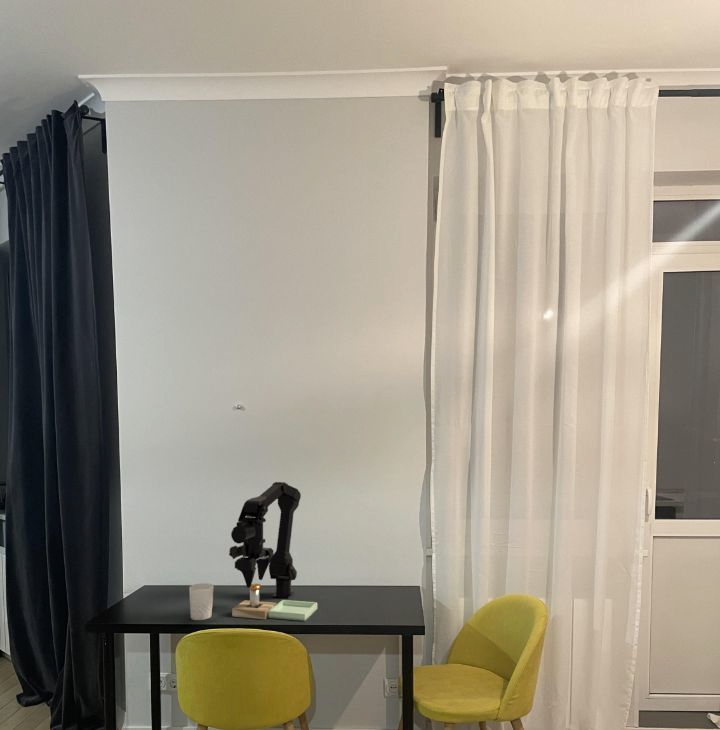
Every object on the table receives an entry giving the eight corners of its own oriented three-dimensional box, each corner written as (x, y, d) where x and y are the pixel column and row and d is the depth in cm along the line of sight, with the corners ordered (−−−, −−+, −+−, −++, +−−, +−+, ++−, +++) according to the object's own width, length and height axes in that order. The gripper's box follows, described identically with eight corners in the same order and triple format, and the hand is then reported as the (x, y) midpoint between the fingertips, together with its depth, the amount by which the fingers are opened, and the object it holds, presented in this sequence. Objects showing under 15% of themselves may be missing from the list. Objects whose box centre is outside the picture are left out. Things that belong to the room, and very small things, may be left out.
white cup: (189, 622, 192) (189, 591, 193) (188, 614, 199) (189, 584, 200) (213, 619, 194) (214, 588, 195) (212, 612, 202) (213, 582, 202)
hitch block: (244, 607, 206) (244, 600, 206) (276, 610, 202) (276, 602, 203) (232, 616, 197) (232, 608, 197) (265, 619, 194) (265, 611, 194)
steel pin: (251, 610, 202) (251, 583, 203) (262, 611, 201) (262, 584, 202) (246, 614, 198) (246, 586, 199) (257, 615, 197) (257, 587, 198)
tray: (282, 606, 207) (282, 599, 207) (317, 609, 203) (317, 602, 203) (268, 617, 195) (268, 611, 195) (304, 621, 192) (304, 614, 192)
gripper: (245, 530, 213) (245, 574, 212) (220, 542, 195) (220, 590, 194) (274, 532, 210) (274, 576, 209) (250, 543, 192) (250, 592, 191)
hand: (254, 583), depth 201 cm, fingers open, 9 cm apart
